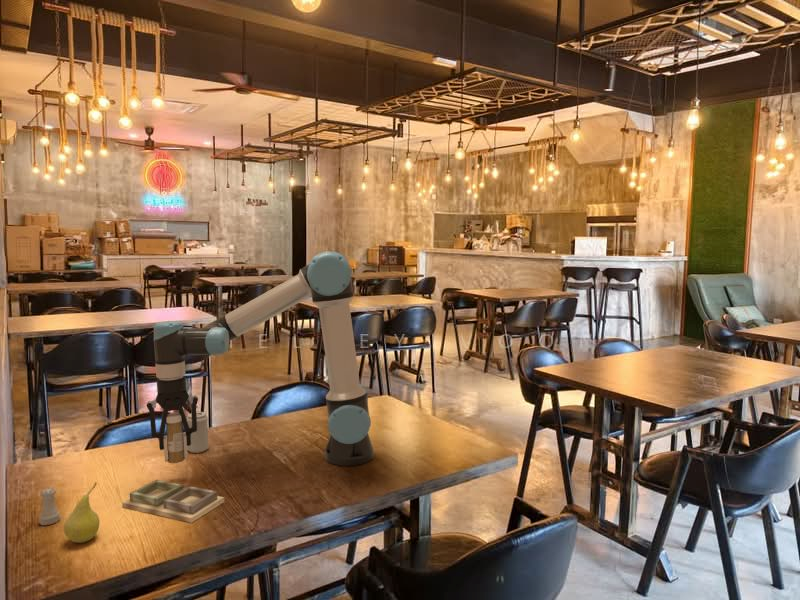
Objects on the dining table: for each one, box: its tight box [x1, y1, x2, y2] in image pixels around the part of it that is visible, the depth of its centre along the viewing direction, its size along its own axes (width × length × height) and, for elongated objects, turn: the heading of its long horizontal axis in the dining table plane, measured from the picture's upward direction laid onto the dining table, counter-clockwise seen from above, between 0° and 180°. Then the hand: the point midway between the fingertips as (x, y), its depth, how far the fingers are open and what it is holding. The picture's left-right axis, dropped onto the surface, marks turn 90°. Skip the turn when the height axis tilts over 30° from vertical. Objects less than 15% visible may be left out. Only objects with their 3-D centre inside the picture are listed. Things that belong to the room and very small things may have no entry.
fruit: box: [63, 481, 100, 544], centre depth 126 cm, size 7×8×12 cm
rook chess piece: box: [38, 486, 61, 526], centre depth 134 cm, size 4×4×8 cm
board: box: [121, 479, 226, 524], centre depth 144 cm, size 22×12×3 cm, turn 69°
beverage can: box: [186, 411, 209, 454], centre depth 181 cm, size 6×6×12 cm
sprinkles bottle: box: [165, 412, 186, 464], centre depth 158 cm, size 5×5×14 cm
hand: (176, 458), depth 158 cm, fingers closed on sprinkles bottle, 4 cm apart
